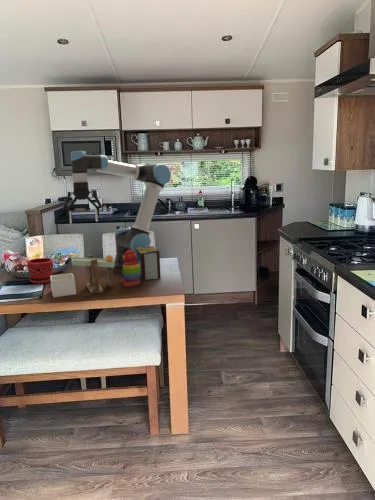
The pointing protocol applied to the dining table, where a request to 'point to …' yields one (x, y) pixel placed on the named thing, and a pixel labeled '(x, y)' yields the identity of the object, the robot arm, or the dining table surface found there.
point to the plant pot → (40, 270)
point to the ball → (109, 258)
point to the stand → (97, 277)
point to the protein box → (148, 262)
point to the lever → (87, 261)
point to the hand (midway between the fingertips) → (84, 222)
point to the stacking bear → (130, 269)
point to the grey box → (63, 285)
